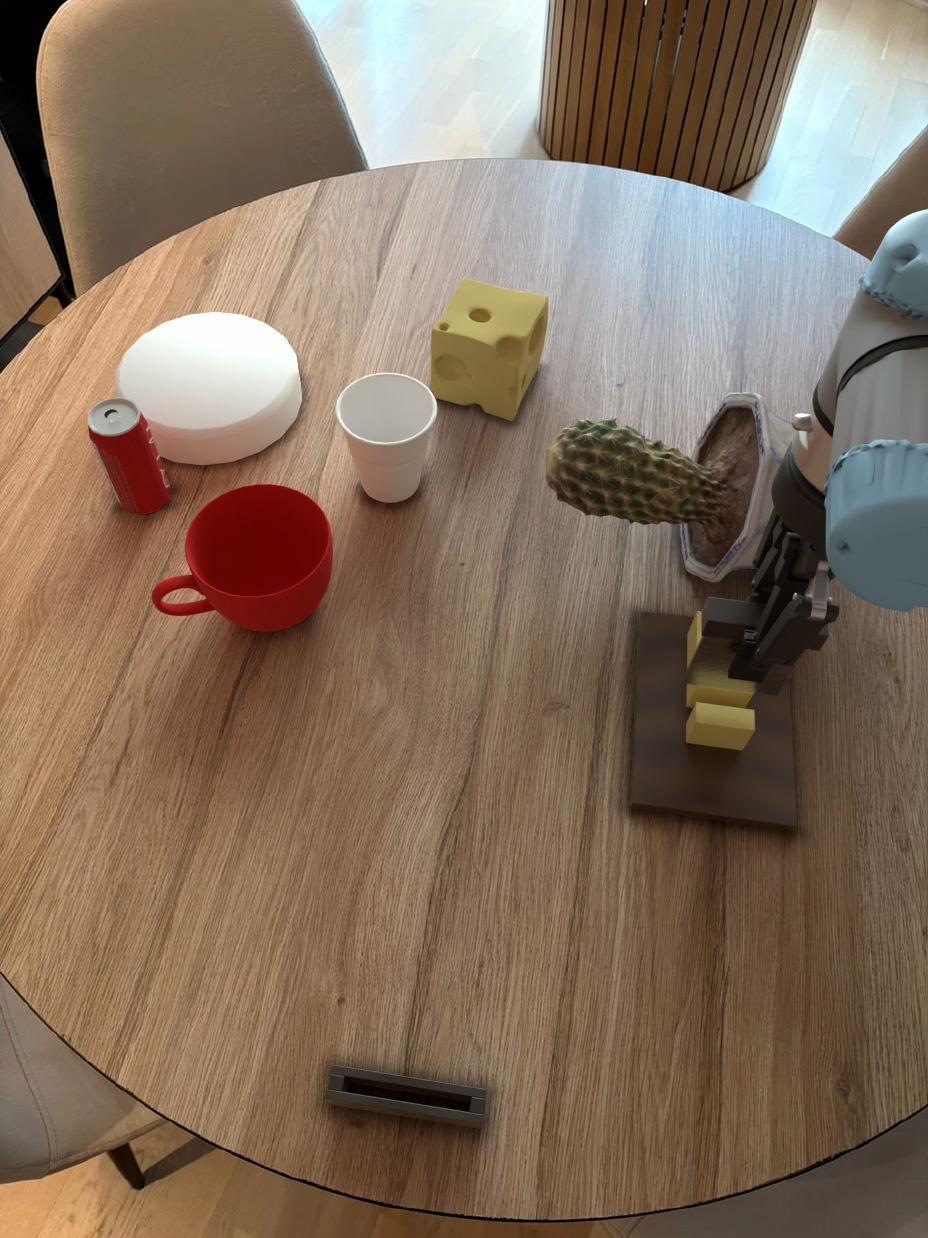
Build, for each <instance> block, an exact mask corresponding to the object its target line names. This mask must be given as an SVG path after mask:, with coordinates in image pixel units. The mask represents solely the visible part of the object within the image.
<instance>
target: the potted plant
mask: <svg viewBox="0 0 928 1238" xmlns="http://www.w3.org/2000/svg"><path fill="white" fill-rule="evenodd" d="M617 419H618V418H617V417H613V418H609V417H606V418H605V419H603V420H600V421H599V422H596V423H595V422H593V421H592V420H591V419H588V418H586V419H578V420H577V421H576V422H575V424H574V425H569V426H566V427H563V428H562V429H561V430H560V431H559V432H558V434H556V436H554V437H553V438H552V440H551V442H550V445H549V446H548V448H546V458H545V459H546V463H545V479H546V480H545V481H546V483H547V485H548V488H549V489H551V490H552V491H553V492H555V493H556V500H557V501H558V502H562V503H566V504H567V505H568V506H570V507H573V508H574V509H576V510H578V511H580V512H581V513H583V514H584V515H585V517H587V516H594V517H598V518H603V517H607V516H611V517H614V518H618V519H620V520H627V521H628V522H629V524H630V525H632V524H634V523H638V524H640V525H642V526H647V525H651V524H654V525H657V526H659V524H660V523H667V524H670V525H673V526H674V525H679V538H680V540H681V554H682V558H683V563H684V568H685V570H686V572H688V573H689V574H690V575H692V576H697V577H699V578H701V580H703V581H705V582H707V581H708V582H710V583H719V582H721V580H723V579H724V577H726V576H727V575H728V574H729V573H730V572H733V571H737V570H738V571H739V570H748V569H750V570H751V569H754V568H753V564H752V561H753V558H754V556H755V554H756V551H757V549H758V546H759V543H760V541H761V538H762V536H763V533H764V531H765V528H766V526H767V523H768V521H769V518H770V516H771V513H772V511H773V508H774V505H773V501H772V495H771V489H772V483H773V480H774V478H775V475H776V473H777V471H778V469H779V466H780V464H781V462H782V460H783V457H784V455H785V453H786V451H787V448H788V447H789V445H790V443H791V442H792V441H793V438H794V435H795V433H796V430H795V429H794V428H793V427H792V425H791V424H792V422H793V421H789V420H786V419H784V418H782V417H780V416H779V415H776V414H775V413H774V412H772V411H771V410H770V409H769V407H768V406H767V405H766V403H765V402H764V399H763V397H762V396H761V394H759V393H756V392H751V391H744V392H729V393H727V394H725V395H724V397H723V398H722V399H721V401H720V403H719V404H718V406H717V407H716V409H715V411H714V412H713V414H712V415H711V416H710V419H709V420H708V422H707V423H706V425H705V427H704V428H703V430H702V432H701V434H700V435H699V437H698V439H697V441H696V444H695V445H694V448H693V451H692V455H691V457H689V455H688V456H687V455H684V454H683V453H682V452H681V451H680V450H679V447H673V446H668V445H665V444H663V442H662V440H661V439H659V440H652V439H649V438H646V435H645V434H642V433H640V432H639V431H637V429H636V428H635V427H633V426H629V425H624V426H619V425H617V422H616V420H617ZM767 554H768V553H767Z"/></svg>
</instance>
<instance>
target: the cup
mask: <svg viewBox="0 0 928 1238" xmlns="http://www.w3.org/2000/svg"><path fill="white" fill-rule="evenodd" d="M334 412H335V418H336V421H337V424H338V425H339V427H340V429H341V430H342V432H343V434H344V435H343V436H344V438H345V440H346V441H345V442H346V443H347V446H348V449H349V452H350V454H351V457H352V460H353V463H354V466H355V469H356V472H357V476H358V478H359V480H360V483H361V486H362V489H363V490H364V493H366V495H368V496H369V497H370V498H372V499H373V500H375V501H378V502H382V503H387V504H390V503H399V502H403V501H405V500H407V499H408V498H411V497H412V496H413V495H414V494H415V493H416V492H417V490H418V488H419V486H420V482H421V479H422V474H423V468H424V464H425V459H426V455H427V451H428V445H429V441H430V438H431V433H432V428H433V425H434V423H435V421H436V418H437V415H438V404H437V400H436V398H435V397H434V395H433V394H432V390H430V388H429V387H428V386H427V385H425V384H424V383H423V382H421V381H419V380H418V379H416V378H414V377H411V376H409V375H405V374H401V373H398V372H397V373H396V372H380V373H379V372H378V373H373V374H368V375H364V376H363V377H360V378H358V379H356V380H354V381H353V382H351V383H350V384H348V385H347V386H346V387H345V388H344V389H343V390H342V391H341V392H340V394H339V395H338V398H337V400H336V402H335V408H334Z"/></svg>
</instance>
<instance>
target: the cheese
mask: <svg viewBox="0 0 928 1238" xmlns="http://www.w3.org/2000/svg"><path fill="white" fill-rule="evenodd" d="M548 321H549V296H547V295H545V294H541V293H534V292H527V291H521V290H516V289H511V288H507V287H503V286H499V285H494V284H491V283H487V282H483V281H479V280H476V279H472V278H469V277H466V276H464V277H462V279H461V280H460V282H459V283H458V284H457V287H456V289H455V291H454V293H453V295H452V297H451V298H450V301H449V303H448V304H447V307H446V308H445V309H444V311H443V313H442V314H441V316H440V317H439V319H438V320H437V322H436V323H435V324H434V325H433V328H432V329H431V338H430V384H431V392H432V394H433V395H434V398H435V399H438V400H442V401H445V402H447V403H448V402H449V403H453V404H457V405H460V406H471V405H473V404H478V405H480V406H481V408H482V410H483V412H484V413H486V414H489V415H492V416H494V417H498V418H500V419H503V420H506V421H509V422H513V421H514V420H515V419H516V417H517V414H518V411H519V408H520V405H521V402H522V401H523V399H524V397H525V396H526V395H525V394H526V393H527V390H528V389H529V387H530V384H531V382H532V380H533V379H534V377H535V375H536V373H537V371H538V368H539V366H540V362H541V358H542V355H543V352H544V347H545V341H546V337H547V331H548V330H547V329H548Z"/></svg>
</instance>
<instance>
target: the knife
mask: <svg viewBox="0 0 928 1238" xmlns="http://www.w3.org/2000/svg"><path fill="white" fill-rule="evenodd" d="M766 605H767V604H761V603H753V602H746V601H743V600H737V599H736V600H735V599H729V598H720V597H715V596H714V597H712V596H708V597H707V599H706V601H705V603H704V606H703V608H702V610H701V611H702V616H701V635H702V637H701V640H700V642H699V644H698V646H697V649H696V651H695V653H694V656H693V658H692V660H691V662H690V665H689V667H688V669H687V671H686V674H685V676H684V678H683V683H684V684H691V685H699V686H706V687H713V688H721V689H728V690H736V691H743V692H751V693H758V694H766V695H773V696H777V695H778V694H779V692H780V690H781V689H782V687H783V686H784V684H785V683H786V681H787V679H788V678H789V679H790V676H791V675H792V673H793V672H794V671H795V668H796V667H797V665H798V664H799V662H800V661H801V659H802V657H803V656H804V654H805V653H806V651H807V650H808V651H816V652H820V651H821V650H822V648H823V647H824V645H825V643H826V642H827V640H828V639H829V637H830V630H829V629H830V628H829V624H826V625H825V626H824V627H823V628H822V630H821V631H820V632H819V633H818V635H817V636H816V637H815V638H814V640H813V641H812V642H811V643H810V644H809V646H808V647H807V648H806V649H805V651H804V652H803V653H802V654H801V655H800V657H799V658H798V659H797V660H796V662H795V663H794V664H793V665H792V666H787V665H780V664H773V665H772V667H771V668H770V670H769V672H768V673H767V675H766V677H765V679H764V680H763V682H762V683H759V682H752V681H744V680H737V679H729V678H728V669H729V667H730V665H731V664H732V662H733V660H734V658H735V656H736V654H737V652H738V650H739V648H740V646H741V644H742V642H743V634H744V630H749V629H750V627H752V628H756V627H757V625H758V623H759V620H760V618H761V616H762V614H763V611H764V609H765V607H766Z"/></svg>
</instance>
